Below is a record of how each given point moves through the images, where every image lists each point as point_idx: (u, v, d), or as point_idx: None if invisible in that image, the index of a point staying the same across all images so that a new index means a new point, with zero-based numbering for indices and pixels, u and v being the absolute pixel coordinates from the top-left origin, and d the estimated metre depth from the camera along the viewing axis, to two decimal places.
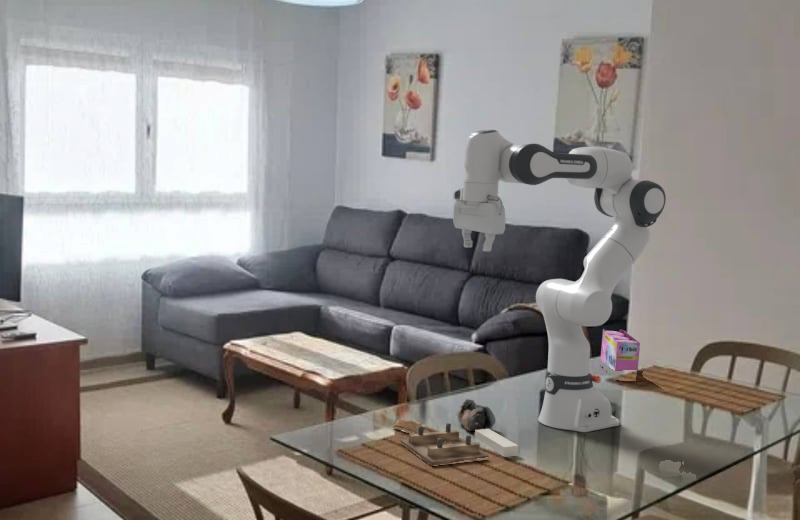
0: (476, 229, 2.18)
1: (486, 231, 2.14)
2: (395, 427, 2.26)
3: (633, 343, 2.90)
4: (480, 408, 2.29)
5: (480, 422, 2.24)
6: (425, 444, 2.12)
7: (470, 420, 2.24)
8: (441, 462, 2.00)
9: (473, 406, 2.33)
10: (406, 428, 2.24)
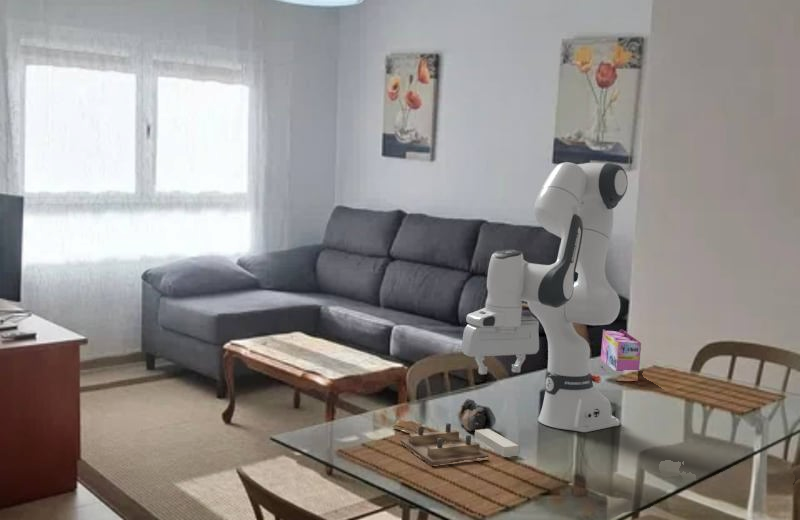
0: (511, 353, 2.12)
1: (528, 352, 2.14)
2: (395, 427, 2.26)
3: (634, 343, 2.90)
4: (480, 408, 2.29)
5: (480, 422, 2.24)
6: (425, 444, 2.12)
7: (470, 420, 2.24)
8: (441, 462, 2.00)
9: (473, 406, 2.33)
10: (406, 428, 2.24)
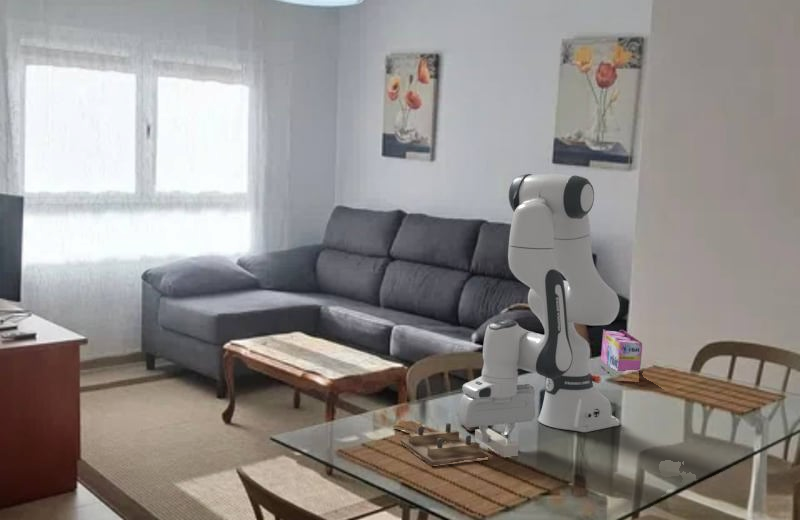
0: (508, 421, 2.14)
1: (524, 420, 2.16)
2: (395, 427, 2.26)
3: (635, 343, 2.89)
4: None
5: None
6: (425, 444, 2.12)
7: None
8: (441, 462, 2.00)
9: None
10: (406, 428, 2.24)
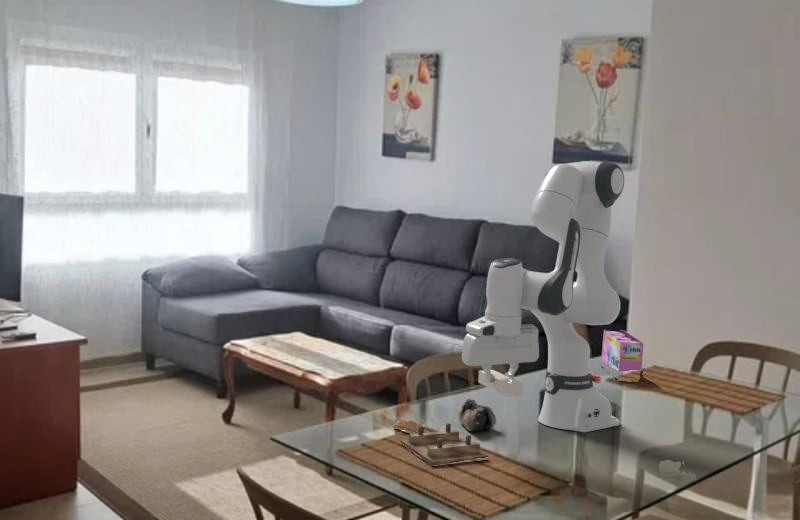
0: (511, 361, 2.12)
1: (528, 360, 2.14)
2: (395, 427, 2.26)
3: (637, 344, 2.89)
4: (481, 408, 2.30)
5: (481, 422, 2.25)
6: (425, 444, 2.12)
7: (471, 420, 2.24)
8: (441, 462, 2.00)
9: (474, 406, 2.33)
10: (406, 428, 2.24)
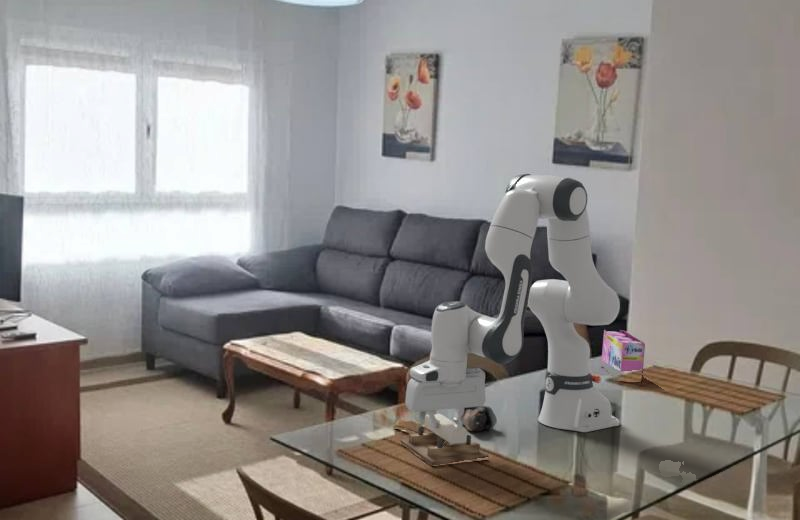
0: (457, 406, 2.08)
1: (474, 405, 2.10)
2: (395, 427, 2.26)
3: (638, 344, 2.89)
4: (481, 408, 2.30)
5: (481, 422, 2.25)
6: (425, 444, 2.12)
7: (471, 420, 2.24)
8: (441, 462, 2.00)
9: None
10: (407, 428, 2.25)
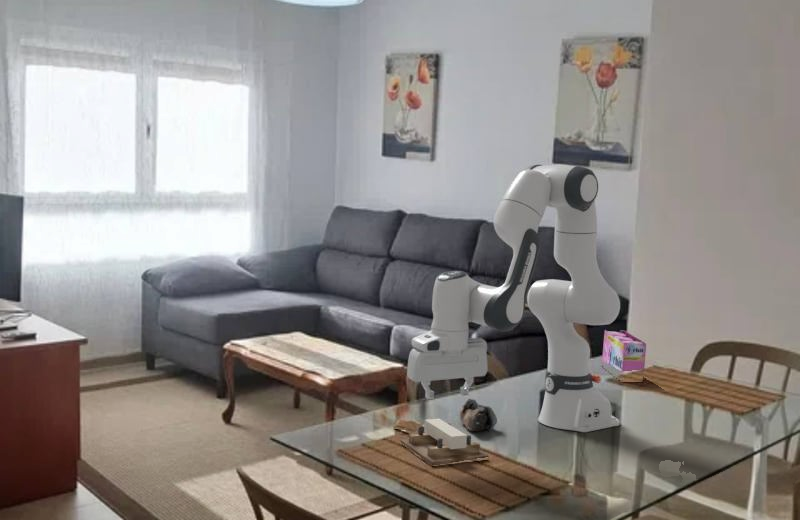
0: (459, 376, 2.08)
1: (476, 375, 2.10)
2: (395, 427, 2.26)
3: (640, 344, 2.89)
4: (482, 408, 2.30)
5: (481, 422, 2.25)
6: (425, 444, 2.12)
7: (471, 420, 2.25)
8: (441, 462, 2.00)
9: (475, 406, 2.33)
10: (407, 428, 2.24)
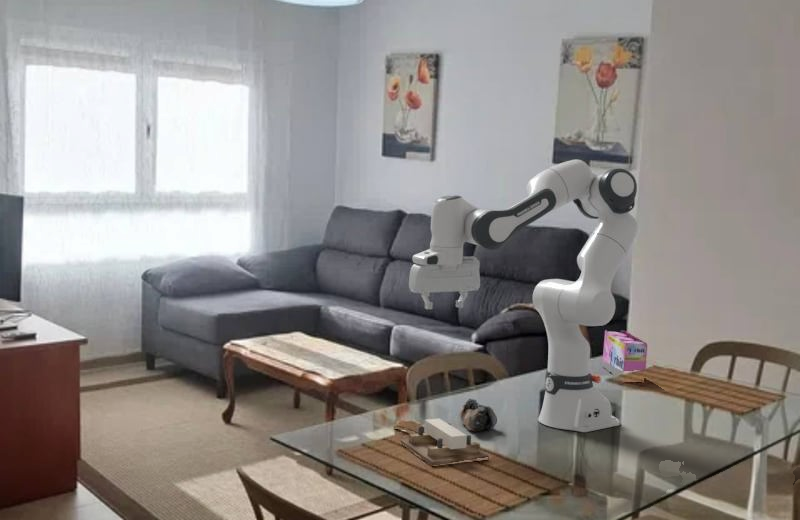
0: (454, 289, 2.33)
1: (470, 289, 2.35)
2: (395, 427, 2.26)
3: (641, 344, 2.88)
4: (482, 408, 2.30)
5: (481, 422, 2.25)
6: (425, 444, 2.12)
7: (471, 419, 2.25)
8: (441, 462, 2.00)
9: (475, 406, 2.33)
10: (407, 428, 2.25)
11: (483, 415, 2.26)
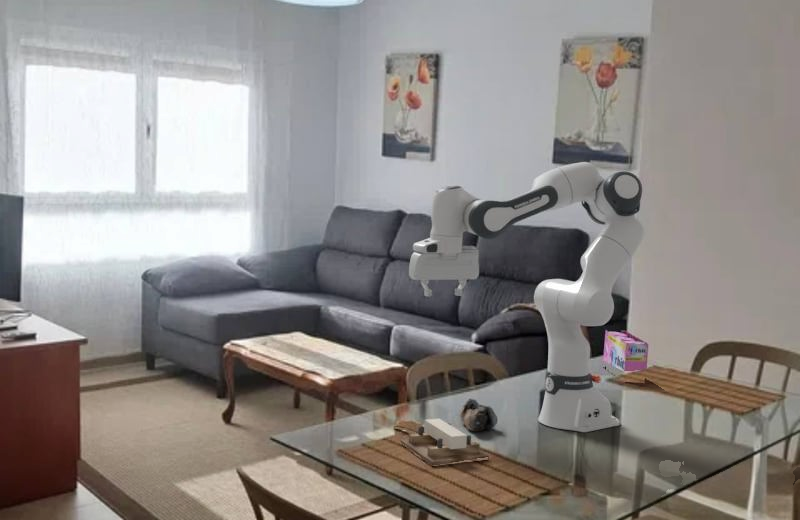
0: (454, 277, 2.38)
1: (469, 277, 2.40)
2: (396, 427, 2.26)
3: (642, 344, 2.88)
4: (482, 408, 2.30)
5: (481, 421, 2.25)
6: (425, 444, 2.12)
7: (471, 419, 2.25)
8: (441, 462, 2.00)
9: (476, 406, 2.33)
10: (407, 428, 2.25)
11: (483, 415, 2.26)
